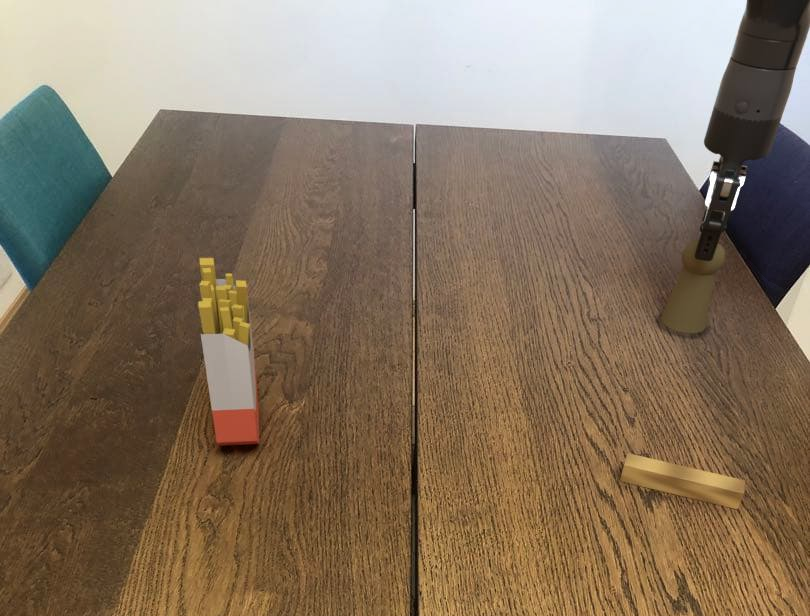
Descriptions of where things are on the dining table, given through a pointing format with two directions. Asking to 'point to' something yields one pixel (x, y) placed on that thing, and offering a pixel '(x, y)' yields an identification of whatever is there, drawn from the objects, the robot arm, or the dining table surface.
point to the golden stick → (683, 481)
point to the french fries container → (229, 357)
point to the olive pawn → (692, 291)
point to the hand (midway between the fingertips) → (705, 245)
